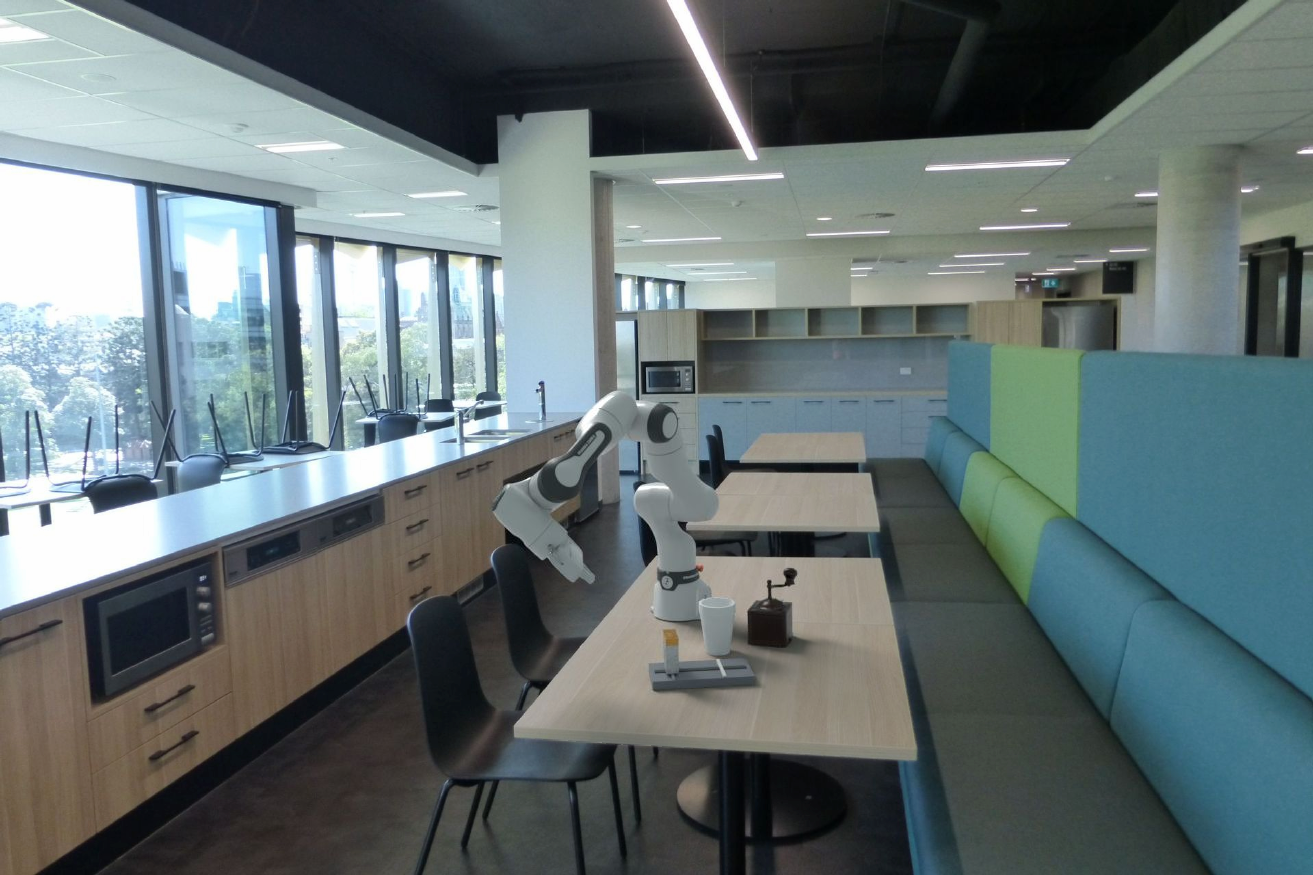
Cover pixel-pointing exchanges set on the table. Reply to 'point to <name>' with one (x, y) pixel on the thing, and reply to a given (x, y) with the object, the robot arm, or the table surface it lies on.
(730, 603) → the foam cup
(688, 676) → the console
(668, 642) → the plate
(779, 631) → the manual coffee grinder
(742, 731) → the table surface
